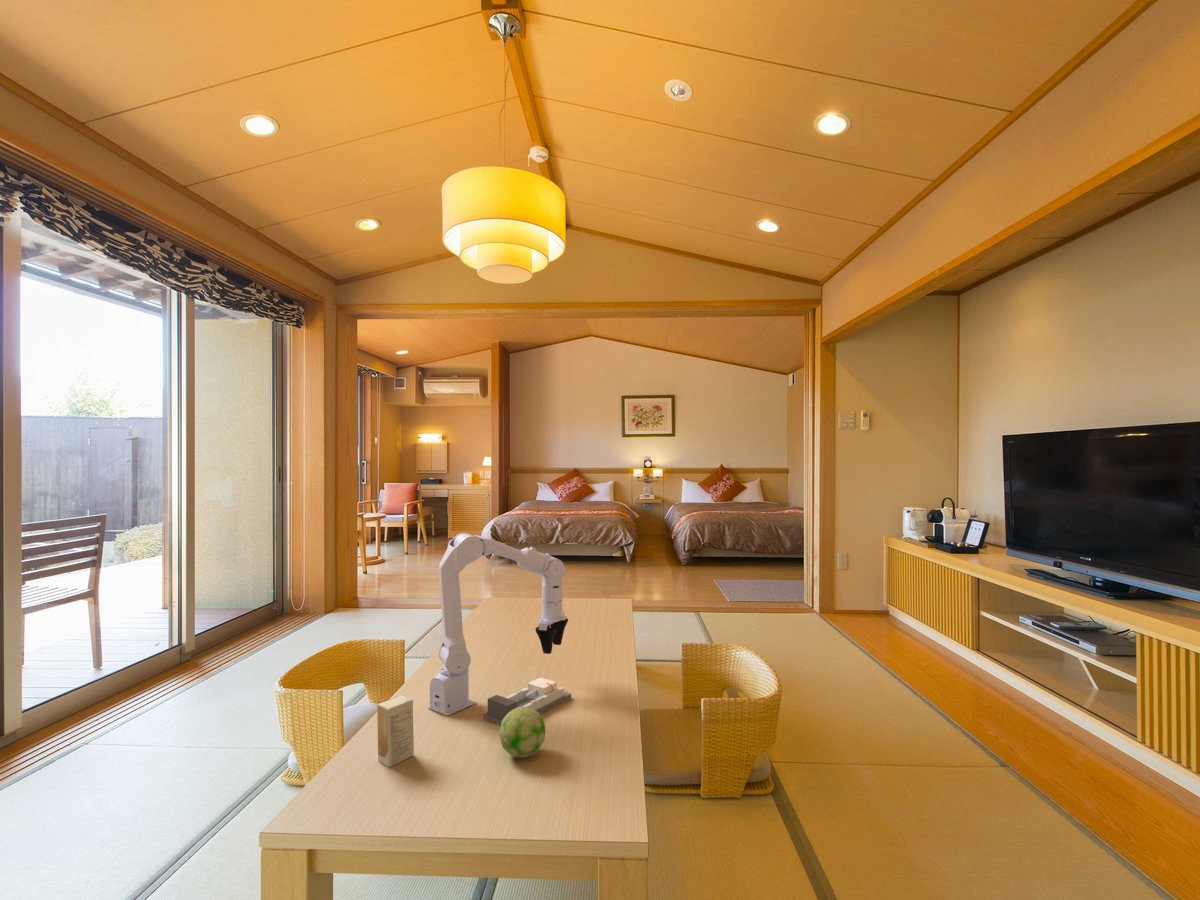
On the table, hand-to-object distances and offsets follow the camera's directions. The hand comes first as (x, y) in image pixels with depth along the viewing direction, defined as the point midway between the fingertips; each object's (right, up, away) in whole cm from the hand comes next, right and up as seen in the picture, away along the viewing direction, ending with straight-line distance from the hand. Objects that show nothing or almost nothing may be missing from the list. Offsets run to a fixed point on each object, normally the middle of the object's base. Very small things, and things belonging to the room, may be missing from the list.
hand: (552, 648), depth 163 cm
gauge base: (-5, -10, -14) cm, 18 cm away
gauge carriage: (-2, -9, -12) cm, 15 cm away
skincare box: (-30, -10, -39) cm, 50 cm away
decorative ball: (-3, -10, -38) cm, 39 cm away
